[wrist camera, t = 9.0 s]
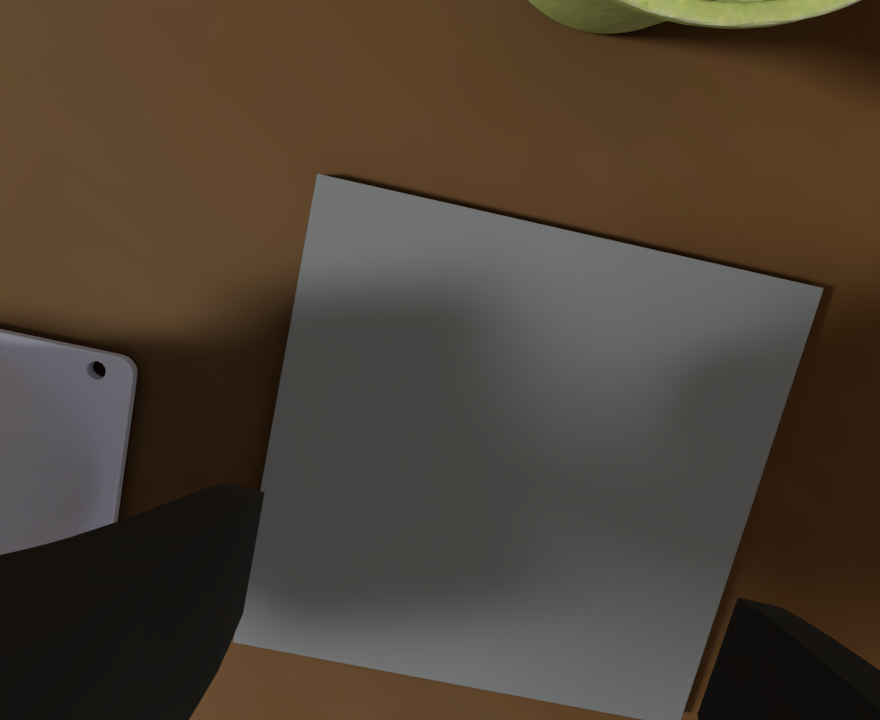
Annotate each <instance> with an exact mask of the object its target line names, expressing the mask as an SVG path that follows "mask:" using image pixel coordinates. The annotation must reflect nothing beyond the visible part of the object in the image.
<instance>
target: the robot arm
mask: <svg viewBox="0 0 880 720" xmlns="http://www.w3.org/2000/svg"><path fill="white" fill-rule="evenodd" d="M95 361H98V362H100V363H102V364H103V365H104V367H105V369H106V374H105V376H100V375H98V374H96V372H95V371H94V368H93V364H94V362H95ZM136 382H137V367H136V365H135V363H134V362H133V361H132V360H131V359H130V358H129V357H127V356H125V355H122V354H118V353H113V352H108V351H103V350H99V349H94V348H89V347H84V346H80V345H75V344H70V343H65V342H60V341H56V340H51V339H46V338H41V337H36V336H32V335H27V334H22V333H17V332H13V331H8V330H3V329H0V720H189V719H190V717H191V715H192V714H193V712H194V710H195V709H196V707H197V705H198V704H199V702H200V700H201V699H202V697H203V695H204V694H205V692H206V690H207V689H208V687H209V685H210V684H211V682H212V680H213V679H214V677H215V675H216V673H217V672H218V669H219V667H220V665H221V663H222V661H223V658H224V656H225V654H226V652H227V650H228V647H229V645H230V643H231V641H232V638H233V636H234V634H235V631H236V629H237V627H238V624H239V622H240V620H241V617H242V615H243V612H244V606H245V600H246V595H247V589H248V583H249V578H250V572H251V567H252V561H253V555H254V550H255V544H256V538H257V533H258V527H259V522H260V516H261V510H262V505H263V499H264V493H265V492H262V491H258V490H253V489H249V488H244V487H240V486H235V485H231V484H226V483H223V484H219V485H215V486H212V487H209V488H206V489H204V490H201V491H198V492H196V493H193V494H190V495H188V496H185V497H183V498H180V499H177V500H175V501H172V502H170V503H167V504H164V505H162V506H159V507H156V508H154V509H151V510H149V511H146V512H143V513H141V514H138V515H135V516H133V517H130V518H127V519H124V520H121V521H118V513H119V506H120V499H121V492H122V484H123V477H124V470H125V463H126V455H127V448H128V441H129V433H130V426H131V419H132V412H133V404H134V397H135V390H136ZM117 521H118V522H117ZM697 715H698V719H699V720H880V670H878V669H877V668H875V667H874V666H872V665H871V664H870V663H868V662H867V661H865V660H864V659H862V658H861V657H859V656H858V655H856V654H855V653H853V652H852V651H850V650H849V649H847V648H846V647H845V646H843V645H842V644H840V643H839V642H837V641H836V640H834V639H833V638H831V637H830V636H828V635H827V634H825V633H823V632H822V631H820V630H819V629H817V628H816V627H814V626H812V625H811V624H809V623H808V622H806V621H804V620H803V619H801V618H799V617H797V616H796V615H794V614H792V613H790V612H788V611H786V610H784V609H782V608H780V607H778V606H773V605H769V604H764V603H760V602H755V601H751V600H746V599H742V598H738V599H737V602H736V605H735V608H734V611H733V614H732V617H731V619H730V622H729V625H728V628H727V631H726V634H725V637H724V640H723V642H722V645H721V648H720V651H719V654H718V657H717V660H716V663H715V666H714V668H713V671H712V674H711V677H710V680H709V683H708V686H707V689H706V691H705V694H704V697H703V700H702V703H701V706H700V709H699V712H698V714H697Z"/></svg>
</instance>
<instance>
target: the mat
mask: <svg viewBox="0 0 880 720" xmlns="http://www.w3.org/2000/svg"><path fill="white" fill-rule="evenodd" d="M823 289H824V288H821V287H816V286H812V285H808V284H803V283H799V282H794V281H790V280H785V279H781V278H777V277H772V276H768V275H763V274H759V273H754V272H750V271H746V270H741V269H737V268H732V267H728V266H723V265H719V264H715V263H710V262H706V261H701V260H697V259H693V258H688V257H684V256H679V255H675V254H670V253H666V252H662V251H657V250H653V249H648V248H644V247H639V246H635V245H631V244H626V243H622V242H617V241H613V240H608V239H604V238H600V237H595V236H591V235H586V234H582V233H578V232H573V231H569V230H564V229H560V228H555V227H551V226H547V225H542V224H538V223H533V222H529V221H524V220H520V219H516V218H511V217H507V216H502V215H498V214H494V213H489V212H485V211H480V210H476V209H471V208H467V207H463V206H458V205H454V204H449V203H445V202H440V201H436V200H432V199H427V198H423V197H418V196H414V195H409V194H405V193H401V192H396V191H392V190H387V189H383V188H379V187H374V186H370V185H365V184H361V183H356V182H352V181H348V180H343V179H339V178H334V177H330V176H325V175H321V174H317V178H316V184H315V189H314V195H313V200H312V206H311V211H310V217H309V223H308V228H307V234H306V239H305V245H304V250H303V256H302V261H301V267H300V273H299V278H298V284H297V289H296V295H295V300H294V306H293V312H292V317H291V323H290V328H289V334H288V339H287V345H286V351H285V356H284V362H283V367H282V373H281V378H280V384H279V389H278V395H277V401H276V406H275V412H274V417H273V423H272V428H271V434H270V440H269V445H268V451H267V456H266V462H265V467H264V473H263V479H262V484H261V490H260V491H262V492H265V493H264V499H263V505H262V510H261V516H260V522H259V527H258V533H257V538H256V544H255V550H254V555H253V561H252V567H251V572H250V578H249V583H248V589H247V595H246V600H245V606H244V612H243V615H242V617H241V620H240V622H239V624H238V627H237V629H236V631H235V634H234V640H233V642H234V643H240V644H245V645H250V646H255V647H261V648H266V649H271V650H277V651H282V652H287V653H293V654H298V655H303V656H308V657H314V658H319V659H324V660H330V661H335V662H340V663H346V664H351V665H356V666H361V667H367V668H372V669H377V670H383V671H388V672H393V673H399V674H404V675H409V676H414V677H420V678H425V679H430V680H436V681H441V682H446V683H452V684H457V685H462V686H467V687H473V688H478V689H483V690H489V691H494V692H499V693H505V694H510V695H515V696H520V697H526V698H531V699H536V700H542V701H547V702H552V703H557V704H563V705H568V706H573V707H579V708H584V709H589V710H595V711H600V712H605V713H610V714H616V715H621V716H626V717H632V718H637V719H642V720H681V718H682V715H683V712H684V709H685V706H686V703H687V700H688V697H689V694H690V691H691V688H692V685H693V682H694V679H695V676H696V673H697V670H698V667H699V664H700V661H701V658H702V654H703V651H704V648H705V645H706V642H707V639H708V636H709V633H710V630H711V627H712V624H713V621H714V618H715V615H716V612H717V609H718V606H719V603H720V600H721V597H722V594H723V591H724V588H725V585H726V582H727V579H728V576H729V573H730V570H731V567H732V564H733V561H734V558H735V555H736V552H737V549H738V546H739V543H740V540H741V537H742V534H743V531H744V528H745V525H746V522H747V519H748V516H749V513H750V510H751V507H752V504H753V501H754V498H755V495H756V492H757V488H758V485H759V482H760V479H761V476H762V473H763V470H764V467H765V464H766V461H767V458H768V455H769V452H770V449H771V446H772V443H773V440H774V437H775V434H776V431H777V428H778V425H779V422H780V419H781V416H782V413H783V410H784V407H785V404H786V401H787V398H788V395H789V392H790V389H791V386H792V383H793V380H794V377H795V374H796V371H797V368H798V365H799V362H800V359H801V356H802V353H803V350H804V347H805V344H806V341H807V338H808V335H809V332H810V329H811V326H812V322H813V319H814V316H815V313H816V310H817V307H818V304H819V301H820V298H821V295H822V292H823Z"/></svg>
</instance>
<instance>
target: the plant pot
mask: <svg viewBox="0 0 880 720" xmlns="http://www.w3.org/2000/svg"><path fill="white" fill-rule="evenodd" d="M528 1H529V2H530V3H531V4H532V5H534V6H535V7H536V8H537V9H538V10H539V11H541V12H542V13H544V14H545V15H547V16H548V17H550V18H552V19H553V20H555V21H557V22H559V23H561V24H564V25H566V26H568V27H571V28H574V29H577V30H580V31H584V32H589V33H598V34H614V33H625V32H631V31H635V30H639V29H643V28H646V27H650V26H653V25H656V24H659V23H662V22H665V21H671V22H675V23H679V24H683V25H692V26H701V27H711V28H721V29H746V28H760V27H771V26H776V25H782V24H787V23H792V22H796V21H800V20H805V19H809V18H813V17H817V16H820V15H823V14H828V13H830V12H833V11H836V10H839V9H842V8H845V7H848V6H850V5H852V4H854V3H857V2H859V1H861V0H528Z"/></svg>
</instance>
